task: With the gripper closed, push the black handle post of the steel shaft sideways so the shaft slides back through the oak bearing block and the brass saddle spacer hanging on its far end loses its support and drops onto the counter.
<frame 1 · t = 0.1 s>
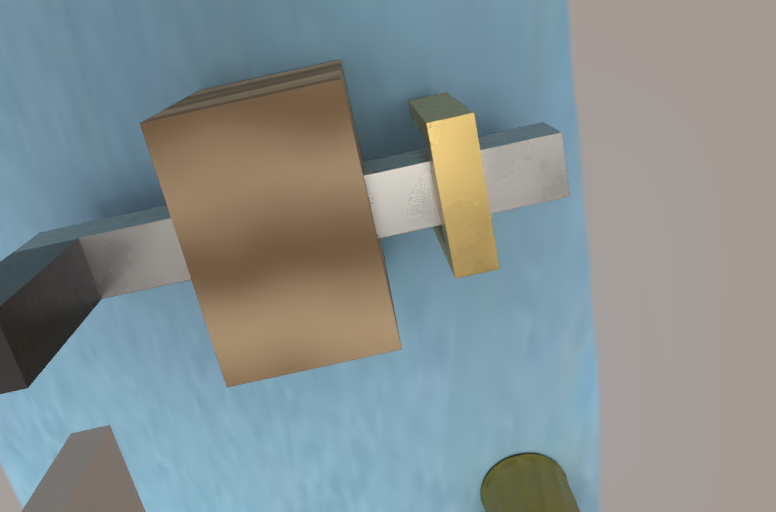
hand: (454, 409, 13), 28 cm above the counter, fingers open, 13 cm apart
vase: (522, 487, 49), on the counter
shaft: (291, 241, 29), point 12 cm above the counter, slide at 0.0 cm, touching collar
bearing block: (296, 179, 40), on the counter
collar: (439, 161, 37), point 3 cm above the counter, touching shaft
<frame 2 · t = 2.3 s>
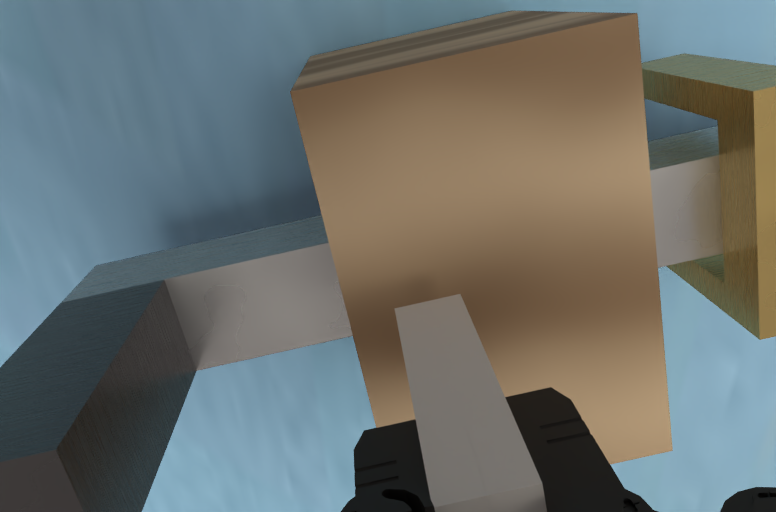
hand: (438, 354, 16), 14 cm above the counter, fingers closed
shaft: (522, 287, 18), point 12 cm above the counter, slide at 0.0 cm, touching collar
bearing block: (438, 180, 29), on the counter
collar: (663, 155, 26), point 3 cm above the counter, touching shaft
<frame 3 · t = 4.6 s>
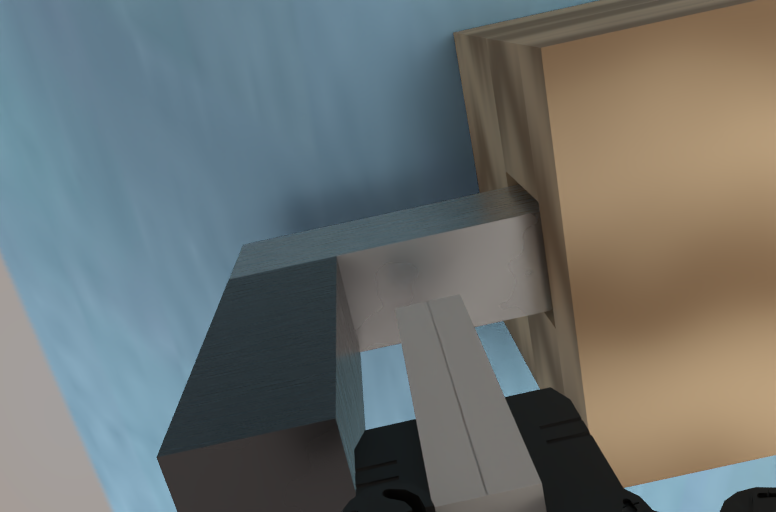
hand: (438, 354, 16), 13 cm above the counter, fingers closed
shaft: (728, 263, 17), point 12 cm above the counter, slide at 0.6 cm, touching collar, gripper
bearing block: (573, 162, 28), on the counter
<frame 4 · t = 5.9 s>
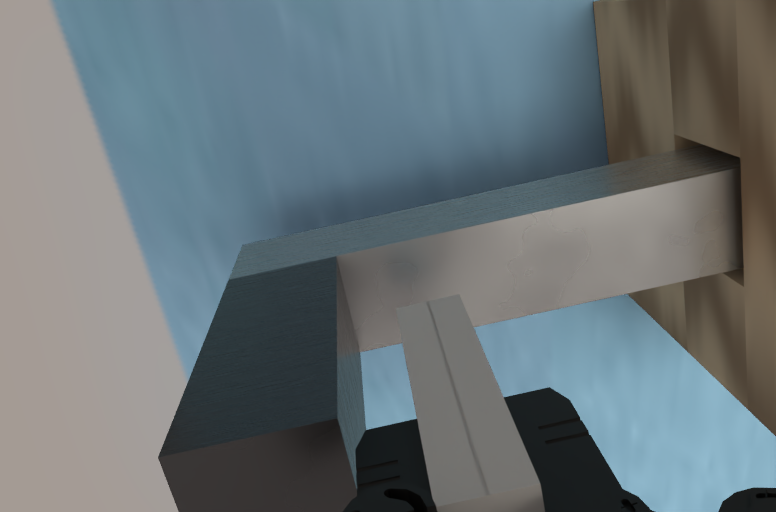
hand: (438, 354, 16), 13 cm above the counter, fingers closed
shaft: (728, 263, 17), point 12 cm above the counter, slide at 6.1 cm, touching collar, gripper
bearing block: (703, 134, 28), on the counter
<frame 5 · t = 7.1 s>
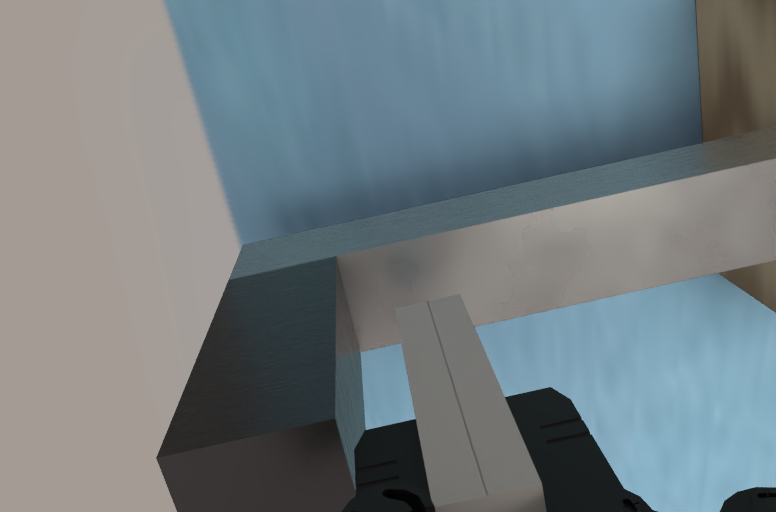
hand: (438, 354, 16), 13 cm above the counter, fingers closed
shaft: (728, 262, 17), point 12 cm above the counter, slide at 10.0 cm, touching gripper
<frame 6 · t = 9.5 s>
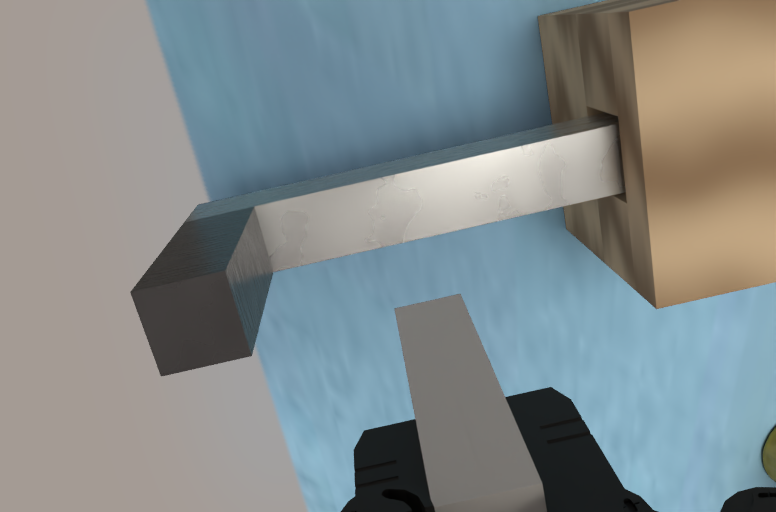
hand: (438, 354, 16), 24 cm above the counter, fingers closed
shaft: (494, 204, 27), point 12 cm above the counter, slide at 10.5 cm
bearing block: (623, 111, 38), on the counter
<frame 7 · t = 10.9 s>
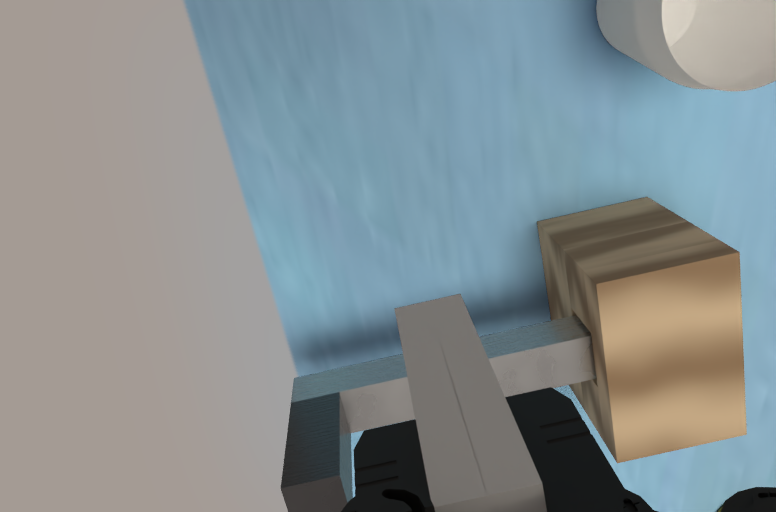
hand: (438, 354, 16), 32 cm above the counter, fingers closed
shaft: (506, 400, 40), point 12 cm above the counter, slide at 10.5 cm
bearing block: (600, 285, 51), on the counter
cup: (644, 3, 45), on the counter
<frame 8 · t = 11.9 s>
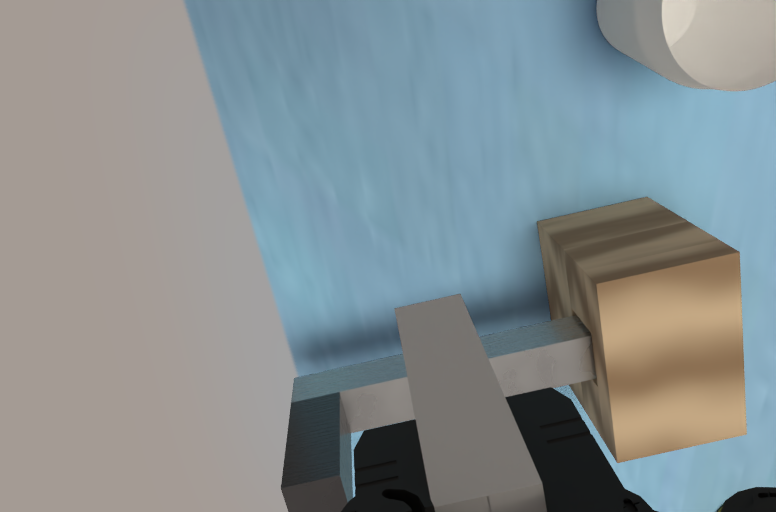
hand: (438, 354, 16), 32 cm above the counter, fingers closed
shaft: (506, 400, 40), point 12 cm above the counter, slide at 10.5 cm
bearing block: (600, 285, 51), on the counter
cup: (644, 3, 45), on the counter
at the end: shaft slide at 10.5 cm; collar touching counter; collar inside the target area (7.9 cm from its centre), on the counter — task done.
